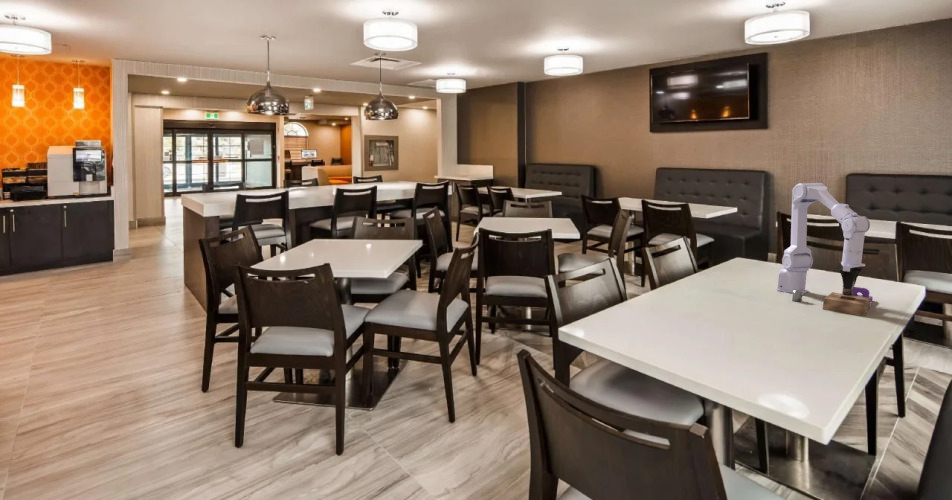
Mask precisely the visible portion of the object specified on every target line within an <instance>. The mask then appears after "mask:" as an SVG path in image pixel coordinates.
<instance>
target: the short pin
mask: <svg viewBox="0 0 952 500" xmlns="http://www.w3.org/2000/svg"><path fill="white" fill-rule="evenodd" d="M803 295H804V294H803V291H801V290H793V293H792V299H791V300H792V302H794V303H802V302H803Z"/></svg>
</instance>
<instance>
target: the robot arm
mask: <svg viewBox="0 0 952 500" xmlns="http://www.w3.org/2000/svg"><path fill="white" fill-rule="evenodd" d="M828 190H829V189H828V186H826V185H825V184H824V183H822V182H817V183H816V182H815V183H813V182H811V183H803V182H802V183H801V182H800V183H797V184H796V185H795V186H794V187H793V188H792V192H791V193H792V194H791V219H790V220H791V221H790V224H791V225H790V227H791V228H790V246H789V247H787V248H786V249H784V251H783V256H782V258H781V262H782V263H781V264H782V268H780V270H779V272H778V278H777V279H778V281H777V289H776V291H777V292H783V293H791V294H793V290H801V291H803V295H804V294H806V293H807V292H809V289H806V283H807V275H808V273H807V272H808V271H809V270H810V269H811V268H812V267H813V263H814V259H813V257H812V250H811V249H810V248H809V247H808V246H807V238H808V237H807V234H808V233H807V232H808V228H807V227H808V207H810V205H812V204H813V203H815V202H817V201H818V202H820V203H821V204H823V206H825V207H826V208H827V209H829V210H830V215H831V217H833V218H834V220H836V221H837V222H838V223H839V224H840V225H841V230H842V233H843V238H844V240H843V248H842V249H843V250H842V256H841V258H842V259H841V262H840V265H841V266H842V267H841V268H839V269H838V270H839V273H840V276H841V279H842V288H843V287H844V289H850V290H851V288H852V286H853V282H854V286H855V285H856V283H857V279H858V277H859V275H860V273H861V272H862V270H863V268H862V267H866V264H865V263H862V260H863V254H864V253H863V252H864V251H863V250H864V244H865V243H864V242H865V235H866V233H867V232H868V231H869V230H870V228H871V222H870V220H869V219H868V217H867V216H865V215H864V216H863V215H862V216H861V215H859V214H858V213H857V212H855V211H854V210H852V208H850V205H849V204H847V203H846V204H845V203H839V201H837V200H836V198H834V196H833V195H832V194H831V192H829V191H828Z"/></svg>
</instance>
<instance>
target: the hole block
mask: <svg viewBox="0 0 952 500" xmlns="http://www.w3.org/2000/svg"><path fill="white" fill-rule="evenodd" d="M871 303H872V302H871V298H868V297H861V296H854V295H853V296H846V295H842V293H840V292H831V293H829V294H827V296H825V297H824V298H823V304H822V310H826V311H831V312H839V313H844V314H851V315H854V316H855V315H856V316H861V317H863V316H864V315H865V314H866V313H867V312H868V311H870V309H871Z"/></svg>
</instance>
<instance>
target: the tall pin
mask: <svg viewBox="0 0 952 500" xmlns="http://www.w3.org/2000/svg"><path fill="white" fill-rule="evenodd" d="M854 287H855V285H854V282H853V286H852V288H851V290H850V289H844V287H843V286H842V291H841V292H842V293H841V294H842V295H846V296H853V288H854Z"/></svg>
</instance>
